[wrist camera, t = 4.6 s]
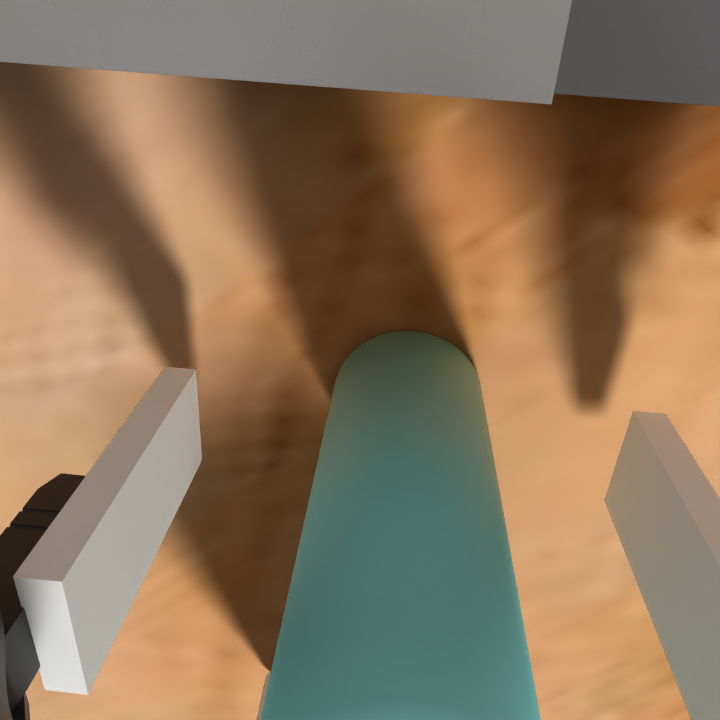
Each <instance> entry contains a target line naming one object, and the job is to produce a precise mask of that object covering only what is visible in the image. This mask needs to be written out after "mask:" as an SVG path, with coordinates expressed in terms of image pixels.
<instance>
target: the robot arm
mask: <svg viewBox="0 0 720 720" xmlns="http://www.w3.org/2000/svg"><path fill="white" fill-rule="evenodd" d="M201 461H202V450H201V436H200V422H199V408H198V393H197V379H196V370H195V369H185V368H174V367H164V369H163V370H162V372H161V373H160V374H159V376H158V377H157V378H156V380H155V381H154V383H153V384H152V385H151V387H150V388H149V389H148V391H147V392H146V394H145V395H144V396H143V398H142V399H141V401H140V402H139V403H138V405H137V406H136V407H135V409H134V410H133V412H132V413H131V414H130V416H129V417H128V418H127V420H126V421H125V423H124V424H123V425H122V427H121V428H120V429H119V431H118V432H117V434H116V435H115V436H114V438H113V439H112V441H111V442H110V443H109V445H108V446H107V447H106V449H105V450H104V452H103V453H102V454H101V456H100V457H99V458H98V460H97V461H96V463H95V464H94V465H93V467H92V468H91V470H90V471H89V472H88V474H87V475H86V476H81V475H72V474H62V473H61V474H60V475H58V476H57V477H55V478H54V479H52V480H51V481H49V482H48V483H46V484H45V485H43V486H42V487H40V488H39V489H38V490H37V491H36V492H35V493H34V495H33V496H32V497H31V498H30V499H29V501H28V502H27V503H26V504H25V506H24V507H23V511H22V512H21V511H20V512H19V513H18V514H17V516H16V517H15V518H14V519H13V521H12V522H11V523H10V527H7V528H6V529H5V530H4V532H3V533H2V534H1V535H0V720H30V712H29V703H28V699H27V696H26V693H25V692H26V690H27V689H28V687H29V685H30V683H31V682H32V680H33V678H34V677H35V675H36V673H37V671H38V670H39V671H40V675H41V678H42V682H43V685H44V689H45V690H51V691H60V692H68V693H77V694H86V695H88V694H89V692H90V690H91V687H92V685H93V683H94V681H95V679H96V677H97V675H98V673H99V671H100V669H101V667H102V665H103V663H104V661H105V659H106V657H107V655H108V652H109V650H110V648H111V646H112V644H113V642H114V640H115V638H116V636H117V634H118V632H119V630H120V628H121V626H122V624H123V622H124V620H125V618H126V615H127V613H128V611H129V609H130V607H131V605H132V603H133V601H134V599H135V597H136V595H137V593H138V591H139V589H140V587H141V585H142V583H143V580H144V578H145V576H146V574H147V572H148V570H149V568H150V566H151V564H152V562H153V560H154V558H155V556H156V554H157V552H158V550H159V548H160V545H161V543H162V541H163V539H164V537H165V535H166V533H167V531H168V529H169V527H170V525H171V523H172V521H173V519H174V517H175V515H176V513H177V510H178V508H179V506H180V504H181V502H182V500H183V498H184V496H185V494H186V492H187V490H188V488H189V486H190V484H191V482H192V480H193V478H194V476H195V473H196V471H197V469H198V467H199V465H200V463H201ZM605 503H606V505H607V508H608V511H609V513H610V516H611V518H612V521H613V523H614V526H615V528H616V531H617V533H618V536H619V538H620V541H621V543H622V546H623V548H624V551H625V553H626V556H627V559H628V561H629V564H630V566H631V569H632V571H633V574H634V576H635V579H636V581H637V584H638V586H639V589H640V591H641V594H642V596H643V599H644V601H645V604H646V607H647V609H648V612H649V614H650V617H651V619H652V622H653V624H654V627H655V629H656V632H657V634H658V637H659V639H660V642H661V644H662V647H663V649H664V652H665V655H666V657H667V660H668V662H669V665H670V667H671V670H672V672H673V675H674V677H675V680H676V682H677V685H678V687H679V690H680V692H681V695H682V697H683V700H684V703H685V705H686V708H687V710H688V713H689V715H690V718H691V720H720V498H719V497H718V495H717V493H716V492H715V490H714V489H713V487H712V486H711V484H710V483H709V481H708V479H707V478H706V476H705V475H704V473H703V472H702V470H701V468H700V467H699V465H698V464H697V462H696V461H695V459H694V458H693V456H692V454H691V453H690V451H689V450H688V448H687V447H686V445H685V443H684V442H683V440H682V439H681V437H680V436H679V434H678V432H677V431H676V429H675V428H674V426H673V425H672V423H671V422H670V420H669V418H668V417H667V415H666V414H660V413H649V412H638V411H633V413H632V416H631V419H630V422H629V426H628V429H627V432H626V435H625V438H624V441H623V444H622V447H621V450H620V453H619V456H618V459H617V463H616V466H615V469H614V472H613V475H612V478H611V481H610V484H609V487H608V490H607V493H606V496H605Z"/></svg>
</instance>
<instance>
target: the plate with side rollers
mask: <svg viewBox="0 0 720 720" xmlns="http://www.w3.org/2000/svg"><path fill="white" fill-rule="evenodd" d="M0 62H9V63H22V64H35V65H48V66H61V67H74V68H87V69H99V70H112V71H125V72H138V73H151V74H164V75H177V76H190V77H203V78H216V79H229V80H242V81H255V82H268V83H281V84H294V85H307V86H320V87H333V88H346V89H359V90H372V91H385V92H397V93H410V94H423V95H436V96H449V97H462V98H475V99H488V100H501V101H514V102H527V103H540V104H552V100H553V95H554V94H566V95H579V96H592V97H606V98H619V99H632V100H645V101H658V102H671V103H684V104H697V105H710V106H720V0H0Z"/></svg>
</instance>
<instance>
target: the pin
mask: <svg viewBox="0 0 720 720" xmlns="http://www.w3.org/2000/svg"><path fill="white" fill-rule="evenodd" d="M260 720H541V719H540V713H539V708H538V702H537V696H536V691H535V685H534V680H533V674H532V669H531V663H530V658H529V652H528V647H527V641H526V635H525V630H524V624H523V619H522V613H521V608H520V602H519V597H518V591H517V586H516V580H515V574H514V569H513V563H512V558H511V552H510V547H509V541H508V536H507V530H506V524H505V519H504V513H503V508H502V502H501V497H500V491H499V486H498V480H497V475H496V469H495V463H494V458H493V452H492V447H491V441H490V436H489V430H488V425H487V419H486V414H485V408H484V402H483V397H482V391H481V386H480V381H479V377H478V375H477V372H476V370H475V368H474V366H473V365H472V363H471V362H470V360H469V359H468V358H467V356H466V355H465V354H464V353H463V352H462V351H461V350H460V349H458V348H457V347H456V346H454V345H453V344H452V343H450V342H448V341H446V340H445V339H443V338H440V337H438V336H435V335H432V334H429V333H425V332H419V331H394V332H389V333H385V334H382V335H379V336H376V337H373V338H371V339H369V340H367V341H366V342H364V343H362V344H361V345H359V346H358V347H357V348H356V349H355V350H353V351H352V352H351V353H350V354H349V356H348V357H347V358H346V359H345V361H344V362H343V364H342V365H341V367H340V369H339V372H338V374H337V377H336V381H335V385H334V389H333V394H332V398H331V403H330V407H329V412H328V416H327V421H326V425H325V430H324V434H323V439H322V444H321V448H320V453H319V457H318V462H317V466H316V471H315V475H314V480H313V484H312V489H311V493H310V498H309V502H308V507H307V511H306V516H305V520H304V525H303V529H302V534H301V538H300V543H299V547H298V552H297V556H296V561H295V565H294V570H293V574H292V579H291V583H290V588H289V592H288V597H287V601H286V606H285V610H284V615H283V619H282V624H281V628H280V633H279V637H278V642H277V647H276V651H275V656H274V660H273V665H272V669H271V674H270V678H269V683H268V687H267V692H266V696H265V701H264V705H263V710H262V714H261V719H260Z"/></svg>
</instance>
